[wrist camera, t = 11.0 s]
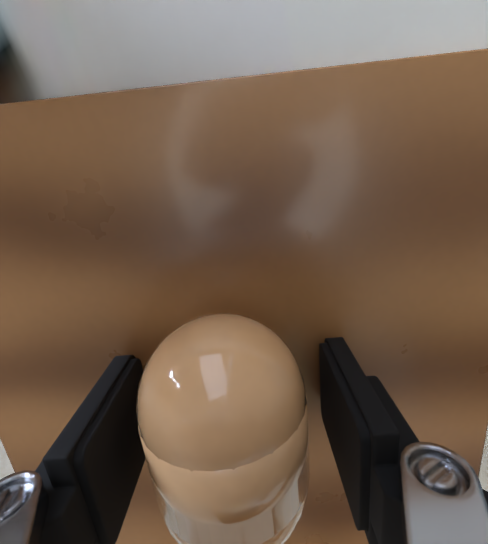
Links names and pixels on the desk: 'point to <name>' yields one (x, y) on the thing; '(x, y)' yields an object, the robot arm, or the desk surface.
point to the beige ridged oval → (225, 432)
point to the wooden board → (253, 246)
